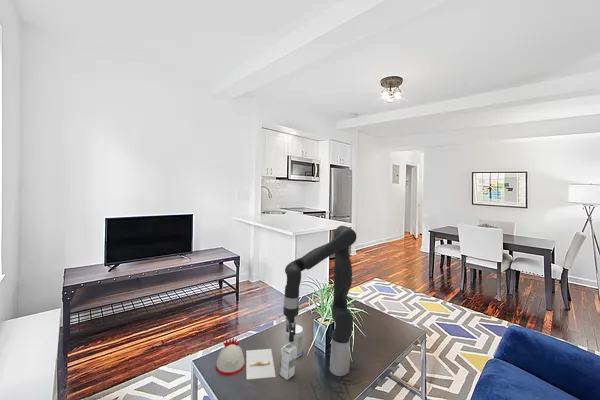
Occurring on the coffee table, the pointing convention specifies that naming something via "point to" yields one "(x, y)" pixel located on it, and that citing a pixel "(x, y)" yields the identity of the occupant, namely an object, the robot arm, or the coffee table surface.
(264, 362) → the beech stop strip
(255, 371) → the white rectangular board
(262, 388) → the coffee table surface
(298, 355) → the supplement tub
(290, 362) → the syrup box
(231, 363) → the kitchen timer
